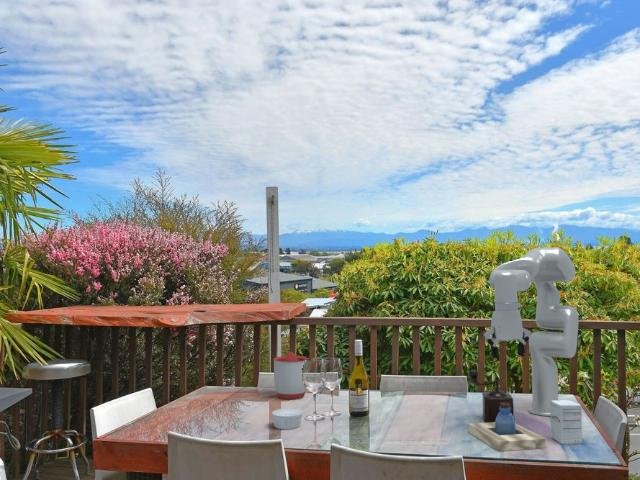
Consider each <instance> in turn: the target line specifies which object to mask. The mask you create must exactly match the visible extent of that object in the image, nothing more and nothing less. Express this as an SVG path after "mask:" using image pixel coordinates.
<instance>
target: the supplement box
mask: <svg viewBox="0 0 640 480" xmlns="http://www.w3.org/2000/svg"><path fill="white" fill-rule="evenodd" d="M582 416H583V415H582V405H581V404H580V403H577V402H575V401H573V400H569V399H561V400H559V399H558V400H553V401H551V416H550V434H551V435H550V438H551V439H553V440H554V441H556V442H558V443H560V445H578V444H579V445H580V444H583V431H582V430H583V429H582V426H583V420H582Z"/></svg>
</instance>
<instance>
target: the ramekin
mask: <svg viewBox="0 0 640 480" xmlns="http://www.w3.org/2000/svg"><path fill="white" fill-rule="evenodd" d="M271 416H272V423H273V426H274V427H275V428H276V429H279V430H286V431H287V430H296V429H297V428H300V426H301V422H302V416H303V411H302V410H301V409H298V408H289V407H288V408H279V409H275V410H273V411H272V412H271Z"/></svg>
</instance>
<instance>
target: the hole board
mask: <svg viewBox="0 0 640 480" xmlns="http://www.w3.org/2000/svg"><path fill="white" fill-rule="evenodd" d="M468 433H469V434H471V435H472V436H474V437H475V438H477V439H479V440H480V441H482V442H483V443H484V444H486V445H488V446H490V447H491V448H492V449H495V450H496V451H497V452H507V451H508V452H510V451H513V452H514V451H527V450H528V451H529V450H537V449H538V450H539V449H540V450H542V449H546V438H545V437H543V436H541V435H540V434H537V433H535V432H534V431H531V430H529V429H527V428H525V427H524V426H521V425H519V424H518V423H516V422H515V434H513V435H498V434H496V433H495V422H489V423H485V422H477V423H476V422H475V423H474V422H473V423H468Z"/></svg>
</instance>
